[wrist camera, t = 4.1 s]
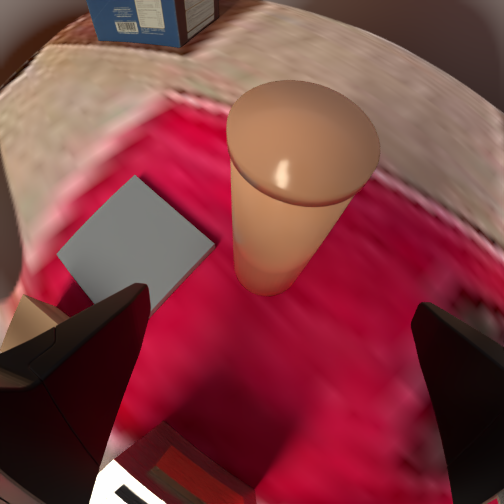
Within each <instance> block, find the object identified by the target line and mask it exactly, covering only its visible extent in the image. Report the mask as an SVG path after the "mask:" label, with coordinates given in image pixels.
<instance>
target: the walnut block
mask: <svg viewBox="0 0 504 504" xmlns="http://www.w3.org/2000/svg"><path fill="white" fill-rule="evenodd" d="M69 318H70V317H69V316H67V315H66V314H65V313H63V312H62V311H61V310H60V309H58V308H57V307H55V306H53V305H50V304H47V303H45V302H42V301H39V300H37V299H34V298H32V297H29V296H26V295H24V294H23V296H22V298H21V300H20V302H19V305H18V307H17V309H16V311H15V314H14V316H13V318H12V321H11V323H10V325H9V328H8V330H7V333H6V335H5V338H4V341H3V343H2V346H1V349H0V351H1V352H2V353H3V352H5V351H7V350H9V349H11V348H13V347H15V346H18V345H20V344H22V343H24V342H26V341H28V340H30V339H32V338H34V337H36V336H38V335H40V334H42V333H43V332H45V331H47V330H49V329H51V328H52V327H55V328H56V325H58V324H60V323H61V322H63V321H65V320H67V319H69Z"/></svg>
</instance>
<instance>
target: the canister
mask: <svg viewBox="0 0 504 504" xmlns="http://www.w3.org/2000/svg"><path fill="white" fill-rule="evenodd" d="M227 147H228V152H229V156H230V159H231V194H232V226H233V254H234V270H235V274H236V276H237V278H238V280H239V282H240V283H241V284H242V285H243V286H244V287H245V288H246V289H247V290H248V291H250V292H252V293H254V294H257V295H261V296H274V295H278V294H280V293H283V292H284V291H286V290H287V289H288V288H290V286H291V285H292V284H293V283H294V282H295V280H296V279H297V277H298V276H299V275H300V273H301V272H302V270H303V269H304V268H305V266H306V265H307V263H308V262H309V261H310V259H311V258H312V256H313V255H314V254H315V252H316V251H317V249H318V248H319V246H320V245H321V244H322V242H323V241H324V239H325V238H326V236H327V235H328V233H329V232H330V231H331V229H332V228H333V226H334V225H335V223H336V222H337V220H338V219H339V217H340V216H341V214H342V213H343V211H344V210H345V208H346V207H347V205H348V204H349V202H350V201H351V199H352V198H353V196H354V195H356V194H357V193H358V192H359V191H360V190H361V189H362V188H363V187H364V186H365V184H366V183H367V181H368V180H369V178H370V177H371V175H372V174H373V172H374V170H375V169H376V167H377V164H378V162H379V157H380V143H379V138H378V135H377V132H376V130H375V128H374V126H373V124H372V122H371V121H370V119H369V118H368V117H367V115H366V114H365V113H364V112H363V111H362V110H361V109H360V108H359V107H358V106H357V105H356V104H355V103H353V102H352V101H351V100H350V99H348V98H347V97H345V96H344V95H342V94H340V93H338V92H336V91H334V90H332V89H330V88H327V87H324V86H322V85H318V84H315V83H310V82H305V81H295V80H284V81H275V82H269V83H266V84H262V85H260V86H257V87H255V88H253V89H251V90H249V91H248V92H246V93H245V94H243V95H242V96H241V97H240V98H239V99H238V100H237V101H236V102H235V104H234V105H233V106H232V108H231V110H230V112H229V115H228V119H227Z"/></svg>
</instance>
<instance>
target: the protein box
mask: <svg viewBox="0 0 504 504" xmlns="http://www.w3.org/2000/svg"><path fill="white" fill-rule="evenodd" d="M86 1H87V5H88V8H89V11H90V15H91V18H92V21H93V25H94V28H95V31H96V34H97V37H98V40H99V41H119V42H133V43H145V44H154V45H163V46H171V47H177V48H179V47H181V46H183V45H184V44H185V43H186V42H187V41H189V40H190V39H191V38H192V37H194V36H195V35H196V34H197V33H199V32H200V31H201V30H202V29H204V28H205V27H206V26H208V25H209V24H210V23H212V22H213V21H214V20H216V19H217V18H218V17H219V0H86Z"/></svg>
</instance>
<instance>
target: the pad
mask: <svg viewBox="0 0 504 504" xmlns="http://www.w3.org/2000/svg"><path fill="white" fill-rule="evenodd" d="M214 249H215V244H214V243H213V242H212V241H211V240H210V239H208V238H207V237H206V236H205V235H204V234H203V233H201V232H200V231H199V230H198V229H197V228H196V227H194V226H193V225H192V224H191V223H190V222H189V221H187V220H186V219H185V218H184V217H183V216H182V215H180V214H179V213H178V212H177V211H176V210H175V209H173V208H172V207H171V206H170V205H169V204H168V203H167V202H165V201H164V200H163V199H162V198H161V197H160V196H158V195H157V194H156V193H155V192H154V191H153V190H152V189H150V188H149V187H148V186H147V185H146V184H145V183H144V182H142V181H141V180H140V179H139V178H138V177H137V176H136V175H134V176H133V177H132V178H131V179H130V180H129V181H128V182H127V183H125V184H124V185H123V186H122V187H121V188H120V189H119V190H118V191H117V192H116V193H115V194H114V195H113V196H112V197H111V198H110V199H109V200H107V201H106V202H105V203H104V204H103V205H102V206H101V207H100V208H99V209H98V210H97V211H96V212H95V213H94V214H93V215H92V216H91V217H90V218H89V219H88V220H87V222H86V223H85V224H84V225H83V226H82V227H81V228H80V229H79V230H78V231H77V232H76V233H75V234H74V235H73V236H72V237H71V238H70V240H69V241H68V242H67V243H66V244H65V245H64V246H63V247H62V248H61V250H60V251H59V252H58V253H57V256H58V257H59V259H60V260H61V261H62V263H63V264H64V265H65V267H66V268H67V270H68V271H69V272H70V274H71V275H72V276H73V277H74V279H75V280H76V281H77V283H78V284H79V285H80V287H81V288H82V289H83V290H84V292H85V293H86V294H87V295H88V297H89V298H90V299H91V300H92V302H93V303H94V304H96V303H98V302H100V301H102V300H104V299H105V298H107V297H109V296H111V295H113V294H115V293H117V292H118V291H120V290H122V289H124V288H126V287H128V286H130V285H132V284H133V283H144V284H147V285H148V287H149V294H150V303H151V312H150V316H149V318H150V317H151V316H152V315H153V314H154V313H155V311H156V310H157V309H158V308H159V307H160V306H161V305H162V304H163V303H164V302H165V301H166V300H167V298H168V297H169V296H170V295H171V294H172V293H173V292H174V291H175V290H176V289H177V288H178V287H179V286H180V285H181V284H182V283H183V281H184V280H185V279H186V278H187V277H188V276H189V275H190V274H191V273H192V272H193V271H194V270H195V269H196V268H197V267H198V266H199V265H200V264H201V262H202V261H203V260H204V259H205V258H206V257H207V256H208V255H209V254H210V253H211V252H212V251H213V250H214Z"/></svg>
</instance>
